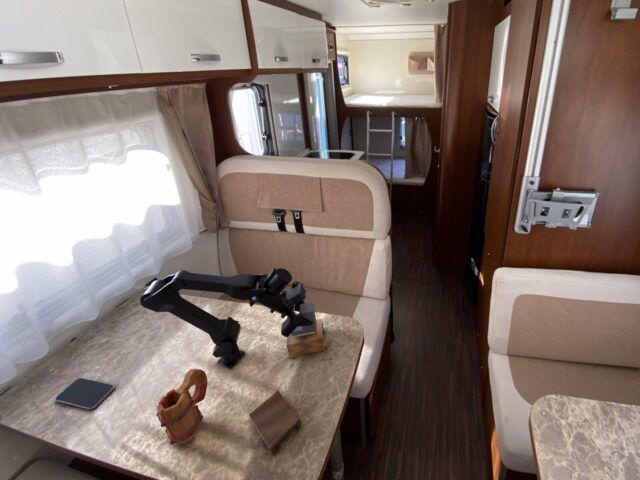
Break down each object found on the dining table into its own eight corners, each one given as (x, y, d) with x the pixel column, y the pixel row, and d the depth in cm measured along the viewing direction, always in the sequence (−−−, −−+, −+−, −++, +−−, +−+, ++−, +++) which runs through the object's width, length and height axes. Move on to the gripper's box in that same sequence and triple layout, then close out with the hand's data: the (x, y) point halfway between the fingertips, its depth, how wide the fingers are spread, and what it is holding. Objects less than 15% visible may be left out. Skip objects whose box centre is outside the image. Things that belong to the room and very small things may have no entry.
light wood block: (289, 357, 104) (286, 345, 101) (291, 336, 112) (288, 324, 109) (324, 350, 106) (322, 338, 103) (324, 330, 114) (321, 318, 111)
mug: (187, 454, 79) (168, 419, 73) (161, 447, 81) (140, 413, 75) (224, 397, 92) (211, 364, 86) (202, 393, 94) (187, 360, 88)
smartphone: (91, 409, 90) (52, 399, 93) (92, 411, 91) (54, 401, 94) (115, 385, 97) (79, 376, 100) (116, 387, 97) (80, 379, 100)
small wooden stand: (251, 421, 86) (248, 414, 84) (279, 396, 92) (277, 390, 90) (271, 454, 78) (269, 447, 77) (301, 425, 84) (299, 418, 83)
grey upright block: (316, 321, 109) (312, 301, 105) (316, 332, 104) (312, 312, 101) (293, 326, 108) (288, 305, 104) (292, 337, 103) (287, 316, 99)
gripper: (285, 303, 89) (327, 324, 95) (290, 265, 106) (326, 285, 112) (263, 328, 91) (305, 347, 97) (271, 287, 108) (307, 305, 114)
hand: (312, 318), depth 105 cm, fingers closed on grey upright block, 4 cm apart
